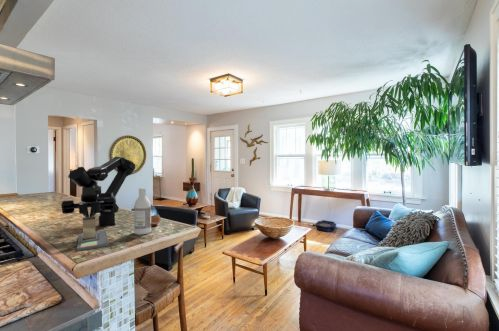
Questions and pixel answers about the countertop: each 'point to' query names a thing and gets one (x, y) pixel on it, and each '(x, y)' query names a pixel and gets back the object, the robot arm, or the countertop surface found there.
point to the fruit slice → (155, 220)
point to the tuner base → (93, 241)
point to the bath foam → (142, 214)
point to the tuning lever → (88, 228)
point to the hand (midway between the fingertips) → (89, 222)
